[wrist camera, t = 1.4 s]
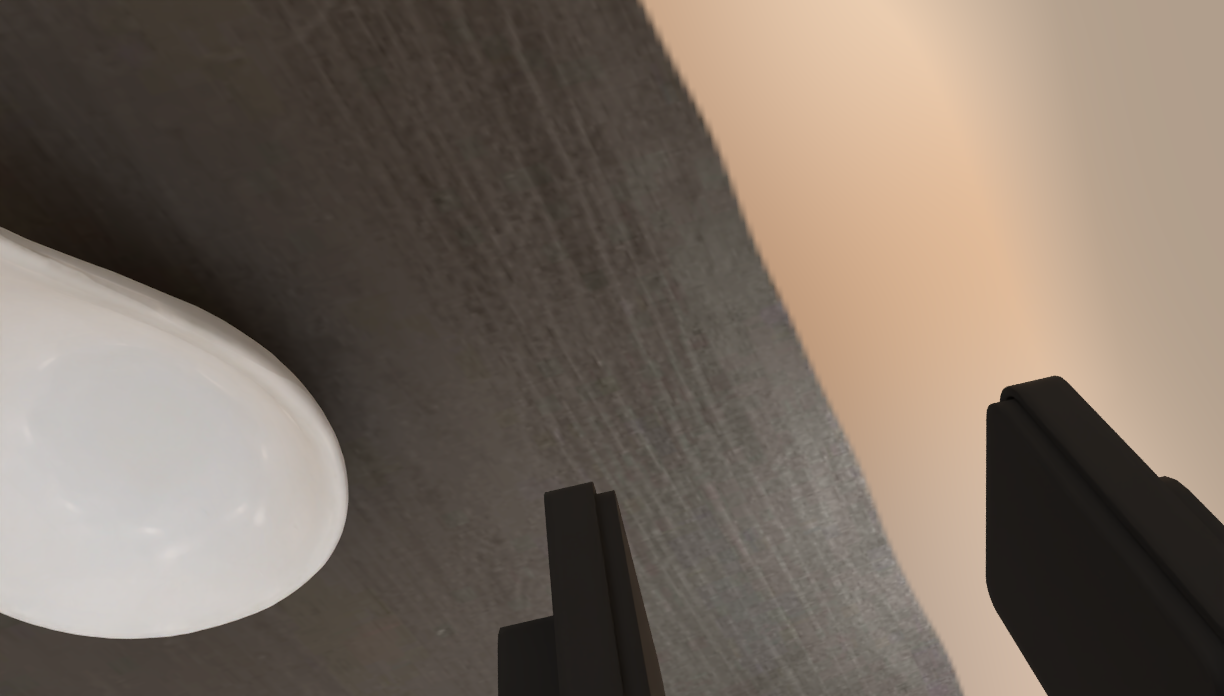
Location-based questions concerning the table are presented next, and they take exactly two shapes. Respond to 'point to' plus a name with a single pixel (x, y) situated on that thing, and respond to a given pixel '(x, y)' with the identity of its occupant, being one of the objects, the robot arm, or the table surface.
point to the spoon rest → (149, 458)
